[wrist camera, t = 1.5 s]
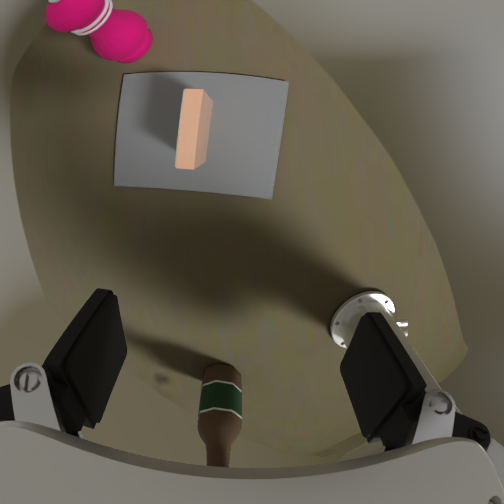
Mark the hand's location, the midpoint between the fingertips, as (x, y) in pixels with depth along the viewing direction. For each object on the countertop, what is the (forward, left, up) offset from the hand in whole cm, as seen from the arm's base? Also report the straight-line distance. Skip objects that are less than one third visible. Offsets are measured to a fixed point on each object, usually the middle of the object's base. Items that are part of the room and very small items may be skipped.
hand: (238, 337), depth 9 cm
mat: (+7, -7, -28) cm, 30 cm away
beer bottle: (0, +36, -28) cm, 46 cm away
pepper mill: (+18, -20, -28) cm, 39 cm away
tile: (+6, -7, -28) cm, 29 cm away
